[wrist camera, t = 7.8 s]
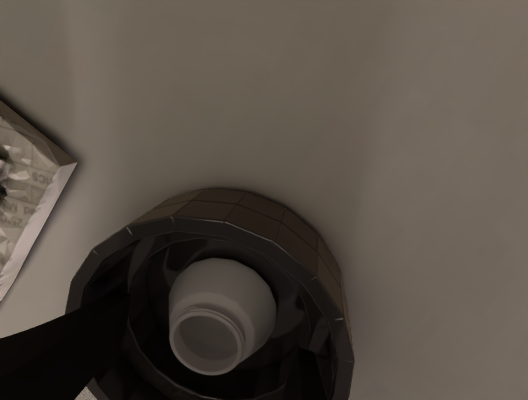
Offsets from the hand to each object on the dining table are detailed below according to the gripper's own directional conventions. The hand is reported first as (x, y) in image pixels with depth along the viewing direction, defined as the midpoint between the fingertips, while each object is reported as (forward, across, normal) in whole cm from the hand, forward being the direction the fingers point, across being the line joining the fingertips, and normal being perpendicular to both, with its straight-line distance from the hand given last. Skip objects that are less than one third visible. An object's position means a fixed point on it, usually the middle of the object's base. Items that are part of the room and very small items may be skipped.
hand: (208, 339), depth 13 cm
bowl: (+3, 0, 0) cm, 3 cm away
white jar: (+3, 0, 0) cm, 3 cm away
